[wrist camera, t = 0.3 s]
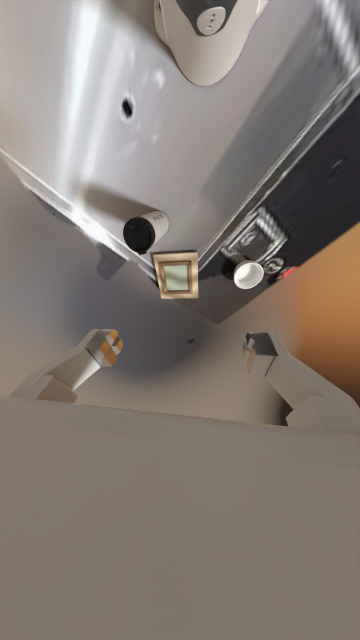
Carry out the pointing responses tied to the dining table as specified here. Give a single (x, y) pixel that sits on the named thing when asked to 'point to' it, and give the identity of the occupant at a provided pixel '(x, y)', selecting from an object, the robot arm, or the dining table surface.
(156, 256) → the board
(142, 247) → the travel mug
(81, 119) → the dining table surface
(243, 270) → the ramekin
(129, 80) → the dining table surface
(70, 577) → the robot arm
